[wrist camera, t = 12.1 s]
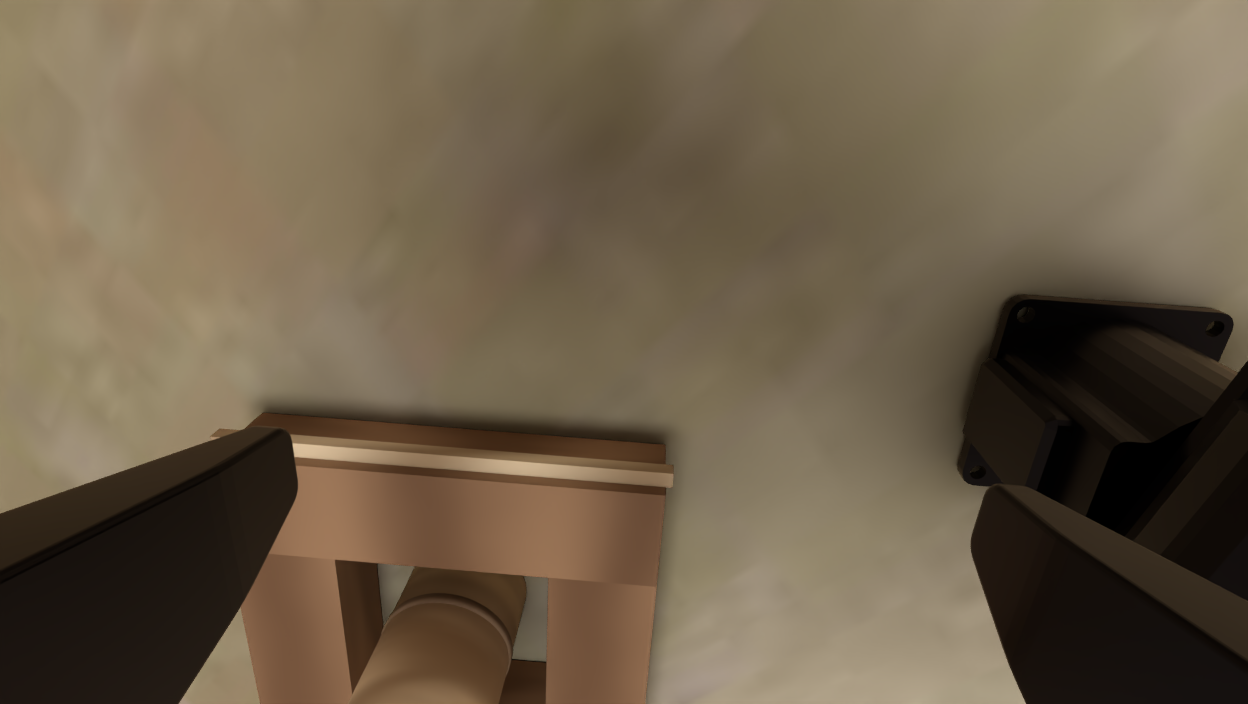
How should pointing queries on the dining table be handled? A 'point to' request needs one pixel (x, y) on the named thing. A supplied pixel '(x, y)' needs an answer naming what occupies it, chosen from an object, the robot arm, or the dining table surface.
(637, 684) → the socket board
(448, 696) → the peg
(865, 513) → the dining table surface
